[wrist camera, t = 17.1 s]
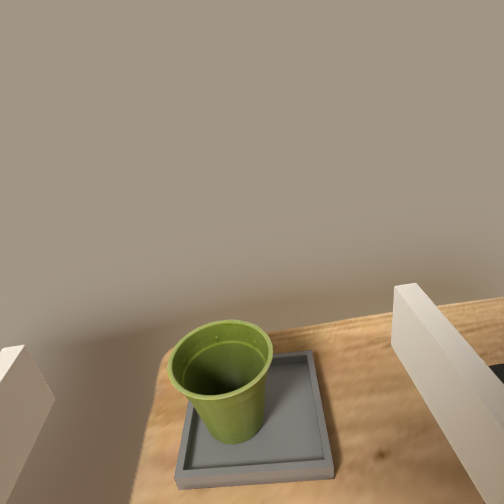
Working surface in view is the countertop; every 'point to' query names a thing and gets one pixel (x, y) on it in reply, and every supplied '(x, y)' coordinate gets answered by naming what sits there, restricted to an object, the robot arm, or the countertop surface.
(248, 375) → the plant pot
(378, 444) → the countertop surface
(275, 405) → the tray
